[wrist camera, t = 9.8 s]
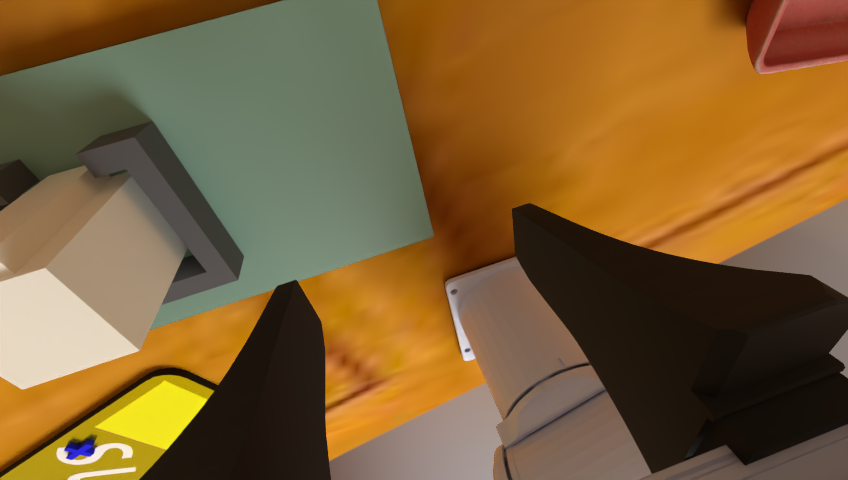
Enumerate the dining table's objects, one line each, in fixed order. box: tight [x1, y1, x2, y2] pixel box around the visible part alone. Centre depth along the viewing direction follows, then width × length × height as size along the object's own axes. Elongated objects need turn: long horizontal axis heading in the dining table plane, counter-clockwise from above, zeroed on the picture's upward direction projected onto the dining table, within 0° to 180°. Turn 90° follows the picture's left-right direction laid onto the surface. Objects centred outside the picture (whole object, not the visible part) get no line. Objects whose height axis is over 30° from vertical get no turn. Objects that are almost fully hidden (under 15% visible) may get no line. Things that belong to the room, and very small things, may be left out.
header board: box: [0, 0, 434, 330], centre depth 17 cm, size 13×18×3 cm
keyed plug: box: [0, 165, 188, 390], centre depth 14 cm, size 5×4×7 cm
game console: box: [0, 368, 218, 480], centre depth 28 cm, size 18×11×2 cm, turn 122°
